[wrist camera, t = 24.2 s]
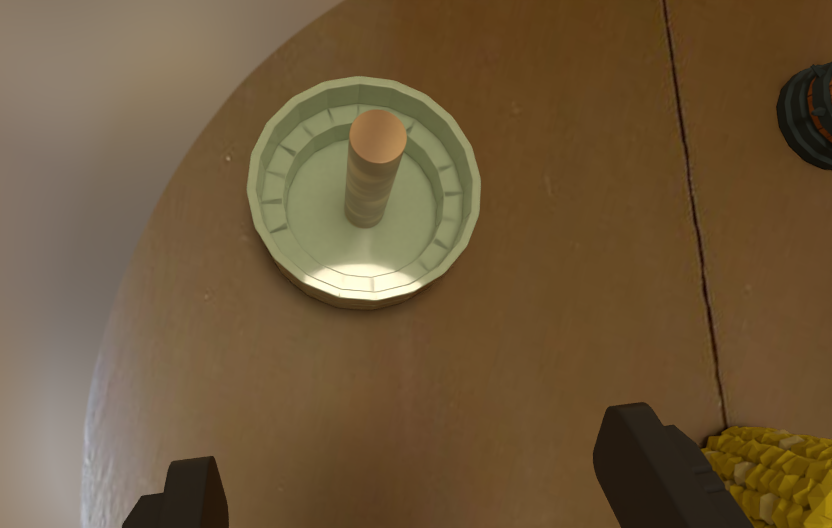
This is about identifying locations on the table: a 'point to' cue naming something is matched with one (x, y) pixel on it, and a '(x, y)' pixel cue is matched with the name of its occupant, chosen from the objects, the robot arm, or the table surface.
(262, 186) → the bowl
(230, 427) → the table surface
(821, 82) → the mug
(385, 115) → the stick
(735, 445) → the food
